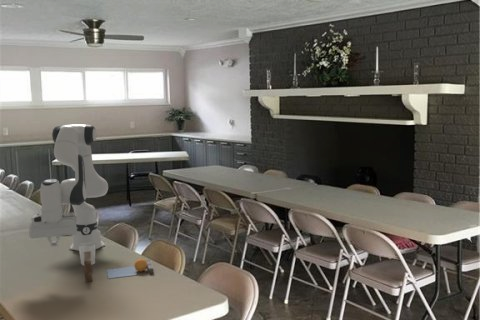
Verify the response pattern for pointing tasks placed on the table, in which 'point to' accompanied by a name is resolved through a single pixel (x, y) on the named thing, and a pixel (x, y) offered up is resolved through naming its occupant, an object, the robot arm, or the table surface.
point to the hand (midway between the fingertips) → (54, 245)
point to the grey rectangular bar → (149, 267)
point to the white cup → (86, 248)
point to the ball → (140, 265)
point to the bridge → (87, 266)
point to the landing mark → (121, 272)
